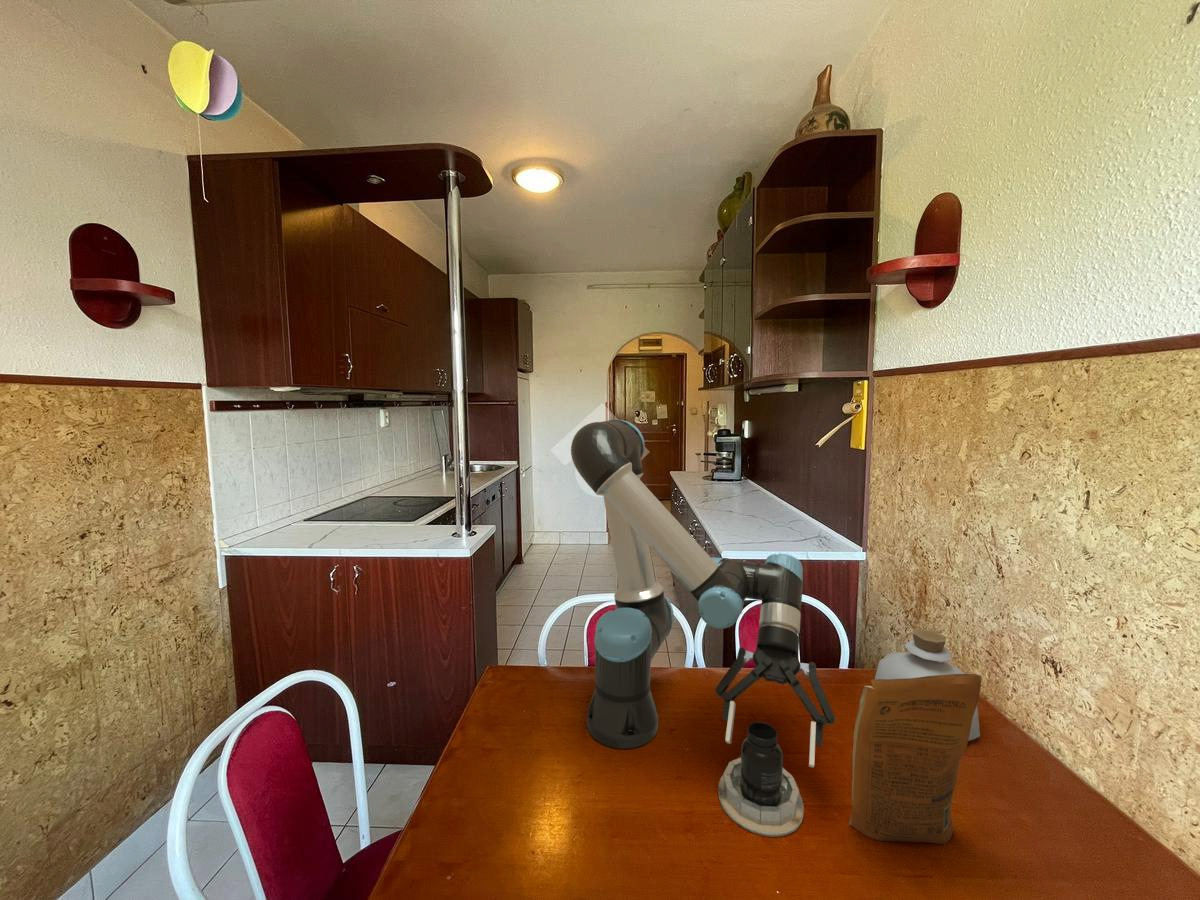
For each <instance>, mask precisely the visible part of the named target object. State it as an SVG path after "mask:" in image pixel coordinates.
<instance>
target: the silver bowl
mask: <svg viewBox="0 0 1200 900" xmlns="http://www.w3.org/2000/svg"><path fill="white" fill-rule="evenodd" d="M740 779H741V756H739V757H737V758H736V759H733V760H731V761H729V762H728V765H727V766H726V768H725V770H724V772H723V774H722V775H721V777H720V778H719V782H718V789H717V790H718V793H717V794H718V800H719V803H720V806H721V807H722V809H723V811H724V812H725V814H726V815H727V817H729V819H731V820H732V821H733V822H734V823H735V824H737V825H738V826H740V827H741V828H742V829H745V830H746V831H749V833H753V834H756V835H759V836H764V837H771V838H780V837H784V836H788V835H790V834H792V833H794V832H796V831H797V830H798V829H799V827H801V825H802V822H803V819H804V813H805V812H804V809H805V807H804V801H803V798H802V796H801V794H800V789H799V787H798V785H797V782H796V781H795V778H794V777H793V775H792V774H791V773H790V772H788V770H786V769H785V768H784V767H783V770H782V797H781V802H780V804H779V805H778V806H777V807H772V806H759V805H757V804H755V803H753V802H751V801H748V800H746V799H744V797H743V795H742V793H741V789H740Z"/></svg>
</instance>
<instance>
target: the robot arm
mask: <svg viewBox="0 0 1200 900" xmlns="http://www.w3.org/2000/svg"><path fill="white" fill-rule="evenodd" d="M645 445H646V444H645V438H644V436H643V434H642V433H641V431H640V430H639V428H638V427H637V426H635V424H634V423H631V422H629V421H627V420H622V419H610V420H609V419H608V420H603V421H595V422H594V421H593V422H590V423H587V424H585V425H584V426H582V427H581V428H579V430H578V431H577V432H576V433H575V435H574V436H573V438H572V441H571V446H570V454H571V460H572V462H573V466H574V467H575V469H576V470H577V473H578V474H579V475H580V477H581V478H582V479H583V480H584V482H585V483H586V484H587V485H588V487H590V489H591V490H592V491H593V492H594V494H596V495H597V496H602V497H603V501H604V508H605V513H606V519H607V525H608V530H609V535H610V541H611V549H612V554H613V558H614V565H615V570H616V577H617V582H618V589H617V590H616V591H615V592H614V595H613V598H614V601H615V602H614V603H615V609H614V610H612V609H611V610H608V611H606V612H605V613H603V614H602V615H601V616H600V617H599V619H598V620H597V622H596V625H595V632H594V637H593V640H594V641H593V642H594V673H595V675H594V676H595V677H594V683H595V684H594V691H593V694H592V697H591V700H590V703H589V706H588V708H587V713H586V727H587V731H588V733H589V734H590V735H591V737H592V738H593V739H595V741H597V742H598V743H600V744H602V745H603V746H607V747H610V748H615V749H623V750H625V749H627V750H629V749H634V748H638V747H640V746H641V747H642V746H644V745H645V744H647V743H649V742H650V741H651V740H653V739H654V738H655V736H656V735H657V732H658V728H659V714H658V711H657V709H656V705H655V701H654V698H653V695H652V691H651V667H652V666H651V664H652V660H653V659H654V657H655V656H656V654H657V652H658V651H659V649H660V648H661V646H662V644H663V643H665V642H664V641H665V640H666V638H667V637H668V636H669V634H670V632H671V630H672V627H673V623H674V616H675V615H674V609H673V606H672V604H671V602H670V600H669V598H668V597H666V596H665V592H664V587H663V585H661V584H659V582H657V581H656V578H655V573H654V567H653V561H652V555H651V550H652V551H653V552H654V553H655V554H656V556H658V557H659V559H660V560H661V561H662V562H663V563H664V565H665V566H666V567H667V568H668V569H669V571H671V572H672V573H673V575H674V576H675V577H676V578H677V579H678V580H679V581H680V582H681V583H682V585H683V586H684V587H685V588H686V590H688V591H689V593H690V594H691V595H692V596H693V597H694V599H695V600H696V601H697V604H698V605H697V608H698V613H699V615H700V618H701V619H702V621H703V622H704V623H705V624H707V625H708V626H710V627H712V628H714V629H721V630H722V629H723V630H724V629H727V628H731V627H732V626H734V625H735V623H737V621H738V619H739V618H740V615H741V614H742V613H743V610H744V604H745V601H746V599H749V600H750V599H751V600H757V601H761V605H760V611H759V612H760V614H759V622H758V625H759V627H760V628H758V632H757V641H756V649H755V651H754V652H752V651H749V650H746V648H744V647H740V648H738V653H737V656H736V659H735V660H734V662H733V663H732V664H731V666H730V667H729V668H728V670H727V671H726V673H725V674H724V676H723V677H722V679H721V680H720V681H719V683H718V684H717V686H716V687H715V690H714V691H715V694H716V695H717V696H718V697H720V698H721V699H722V700H723V707H722V712H721V715H722V720H723V721H724V722H725V721H726V723H727V725H726V731H725V739H724V740H725V742H726V744H729V745H731V744H732V739H733V730H734V721H735V714H736V707H737V705H736V702H735V701H734V700H735V699H737V698H738V697H740V695H742V694H743V693H744V692H745V691H746V690H748V688H750V687H751V686H752V685H753V684H755V683H756V682H757V681H760V680H761V678H762V679H764V680H765V681H766V682H775V683H776V684H778V685H779V684H780V685H785V684H789V686H790V688H791V689H792V690H793V691H794V693H795V694H796V696H797V697H798V699H799V701H800V702H801V703H802V705H803V706H804V708H805V709H806V710H807V712H808V714H809V716H810V717H811V718H812V721H810V729H809V732H810V733H809V751H808V752H809V753H808V754H809V755H808V767H809V768H815V756H816V754H815V753H816V746H819V747H822V745H823V743H824V741H823V739H824V726H828V725H830V726H831V725H834V723H835V721H836V717H835V715H834V712H833V709H832V708H831V705H830V703H829V701H828V698H827V695H826V694H825V691H824V689H823V687H822V685H821V683H820V681H819V677H818V675H817V665H816V663H815V662H813V661H810V662H809V663H805V662H800V661H799V647H800V636H799V634H800V629H801V616H802V613H801V611H802V599H803V587H804V583H803V582H804V580H803V579H804V578H803V577H804V575H803V574H804V567H803V564H802V562H801V561H800V560H799V559H798V558H796V557H795V556H792V555H789V554H785V553H778V554H776V553H773V554H770V555H768V556H767V557H766V558H765V559H766V560H765V561H764V563H763V562H761V563H760V562H752V561H751V562H750V561H743V560H739V559H731V558H727V557H711V556H710V555H709V554H708V553H707V551H705V549H703V547H702V546H701V545H700V544H699V543H698V542H697V541H696V539H695V538H694V537H693V536H692V535H691V534H690V533H689V531H687V530H686V529H685V528H684V526H683V525H682V524H681V523H680V522H679V521H678V520H677V519H676V518H675V517H674V516H673V514H672V513H671V512H670V511H669V510H668V509H667V508H666V506H665V505H664V504H663V503H662V502H661V501H660V500H659V499H658V498H657V497H656V496H655V495H654V494H653V492H652V491H651V490H650V489H649V488H648V487H647V486H646V484H644V483H643V481H642V480H641V478H642V476H643V475H644V470H643V464H642V457H643V455H644V453H645ZM650 549H651V550H650ZM751 660H752V661H753V662H754V664H755V667H754V668H753V669H751V671H750V673H748V674H747V675H746V676H744V677H743V678H742V679H740V681H738V682H737V683H736V684H735V685H734V686H733V687H732V688H730V689H729V690H728V691H727V689H728V688H729V687H730V685H731V684H732V683H733V681H734V680H735V679H736V677H737V676H738V674H739V672H740V671H741V670H742V668H743V666H744V665H745V663H746V664H747V663H749V661H751ZM800 671H802V672H803V674H804V676H805V677H808V679H809V682H810V685H811V687H812V690H813V692H814V694H815V696H816V699H817V701H818V704H819V706H820V708H821V710H822V713H823V714H821V712H819V709H818V708H817V707H816V706H815V704H814V703H813V700H812V699H811V698H810V697H809V695H808V693H807V692H806V690H805V689H804V688H803V686H802V685H801V684H800V681H799V680H798V678H797V677H796V675H797V674H798V673H799V672H800Z"/></svg>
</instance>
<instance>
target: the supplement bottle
mask: <svg viewBox="0 0 1200 900" xmlns="http://www.w3.org/2000/svg"><path fill="white" fill-rule="evenodd" d="M746 736H747V737H746V738H744V739H743V742H742V743H741V749H740V751H741V753H740V757H741V779H740V789H741V793H742V795H743V797H744V799H746V800H748V801H751V802H753V803H755V804H757V805H759V806H772V807H777V806H778V805H779V804H780V802H781V797H782V770H783V768H784V767H783V766H784V762H783V761H784V760H783V759H784V755H783V754H784V753H783V750H782V749H781V747H780V745H779V744H778V732H777V730H776V728H775V727H773V726H772V725H771V724H769V723H766V722H762V721H754V722H751V723H750V724H748V726H747V733H746Z"/></svg>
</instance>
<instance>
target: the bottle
mask: <svg viewBox="0 0 1200 900" xmlns="http://www.w3.org/2000/svg"><path fill="white" fill-rule="evenodd" d="M946 643H947V636H946V635H944V634H942V633H940V632H938V631H936V630H934V629H928V628H927V629H926V628H925V629H924V628H913V631H912V639H911V640H909V641H908V642H907V643H905V644H904V647H905V648H906V649H907V652H906V651H905V652H901V651H900V652H897V651H896V652H889V653H887V655H885V656H884V657H883V658H881V659H880V660H879V662H878V666H877V669H876V673H875V676H874V679H903V678H918V677H925V676H934V675H946V674H967V673H966V672H964V671H963V670H961V669H959V668H958V667H957V666H955V665H953V664H952V663H950V662H949V661H951V660H953V657H952V653H951V652H950V650H949V649H948V648H947V647H945V645H946ZM978 708H979V707H978V706H977V707H976V710H975V713H974V715H973V719H972V724H971V729H970V735H969V740H968V742H971V741H973V740H975V739H977V738H979V737H981V731H980V722H979V721H980V720H979V711H978Z"/></svg>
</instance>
